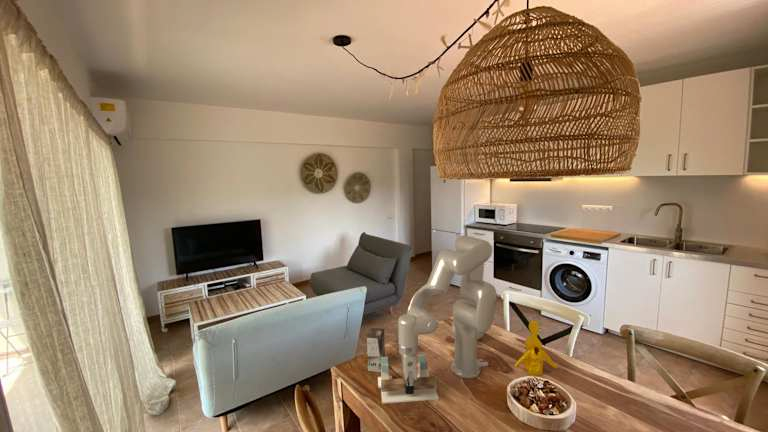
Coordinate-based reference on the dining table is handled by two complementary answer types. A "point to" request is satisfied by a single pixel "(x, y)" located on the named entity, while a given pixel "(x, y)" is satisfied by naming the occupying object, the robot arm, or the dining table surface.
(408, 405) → the dining table surface
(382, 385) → the rail
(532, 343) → the figure statuette
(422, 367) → the toy blocks
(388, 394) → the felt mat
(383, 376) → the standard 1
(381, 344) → the coffee box
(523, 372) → the dining table surface
